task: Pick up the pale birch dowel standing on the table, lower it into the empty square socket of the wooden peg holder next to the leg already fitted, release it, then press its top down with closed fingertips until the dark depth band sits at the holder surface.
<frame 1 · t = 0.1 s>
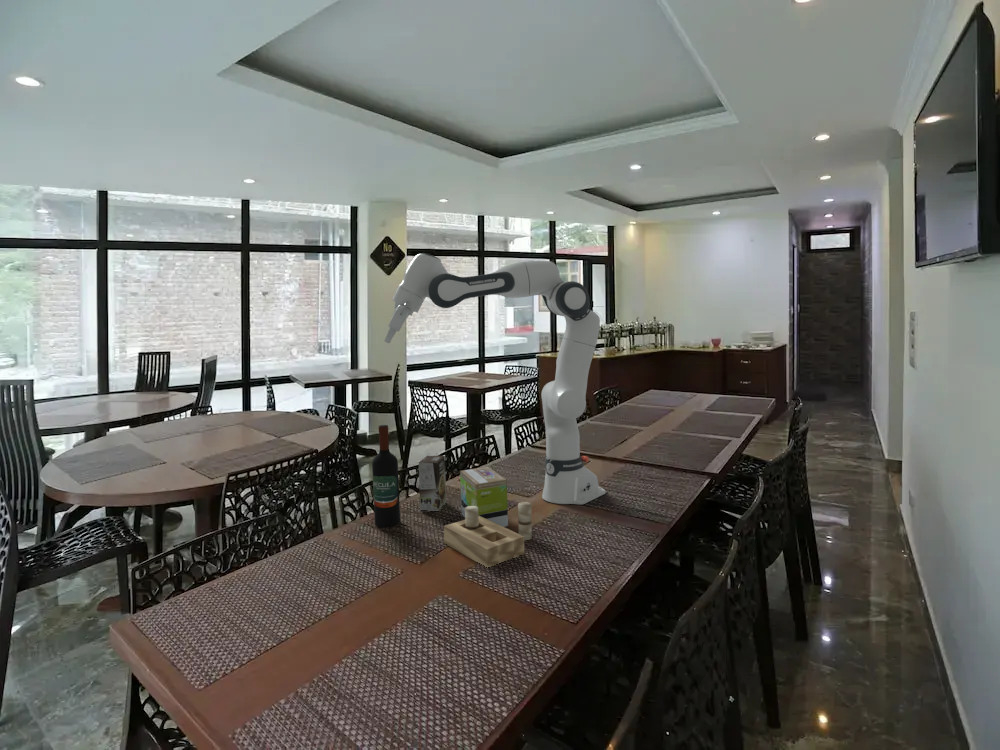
hand: (387, 341, 181), 54 cm above the table, tool tilted 30°, fingers open, 8 cm apart
wooden peg holder: (483, 548, 157), on the table
coffee box: (433, 507, 190), on the table
birch peg: (525, 538, 163), on the table
wine bottle: (387, 523, 177), on the table
tea box: (484, 521, 177), on the table
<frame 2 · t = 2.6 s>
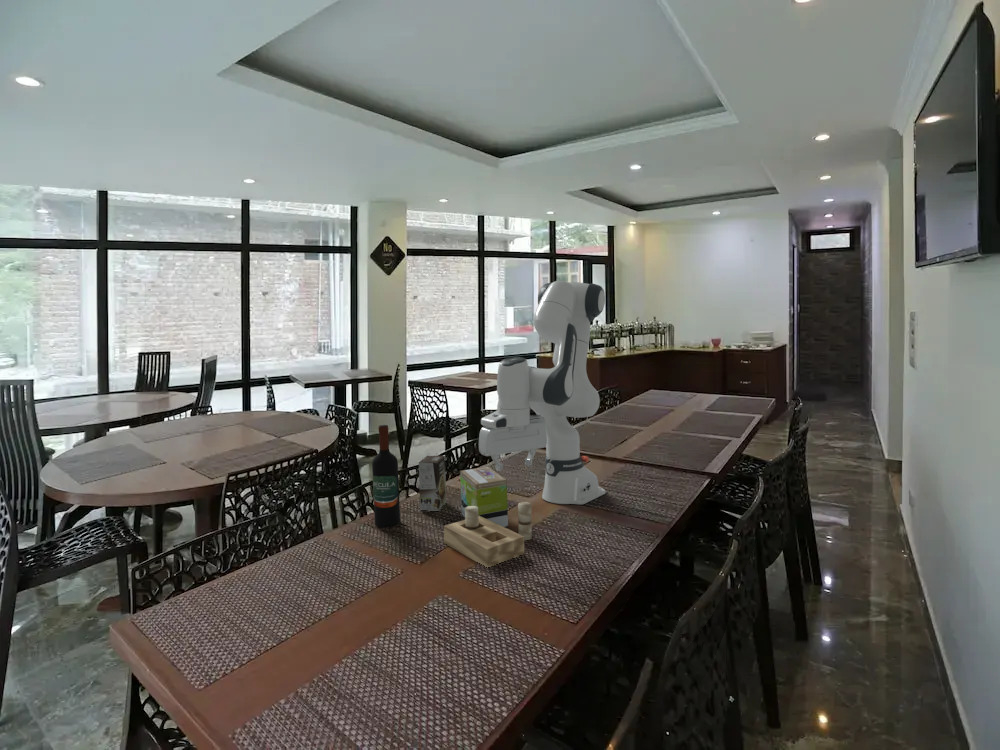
hand: (514, 467, 160), 21 cm above the table, tool pointing down, fingers open, 8 cm apart
nothing on the table moved.
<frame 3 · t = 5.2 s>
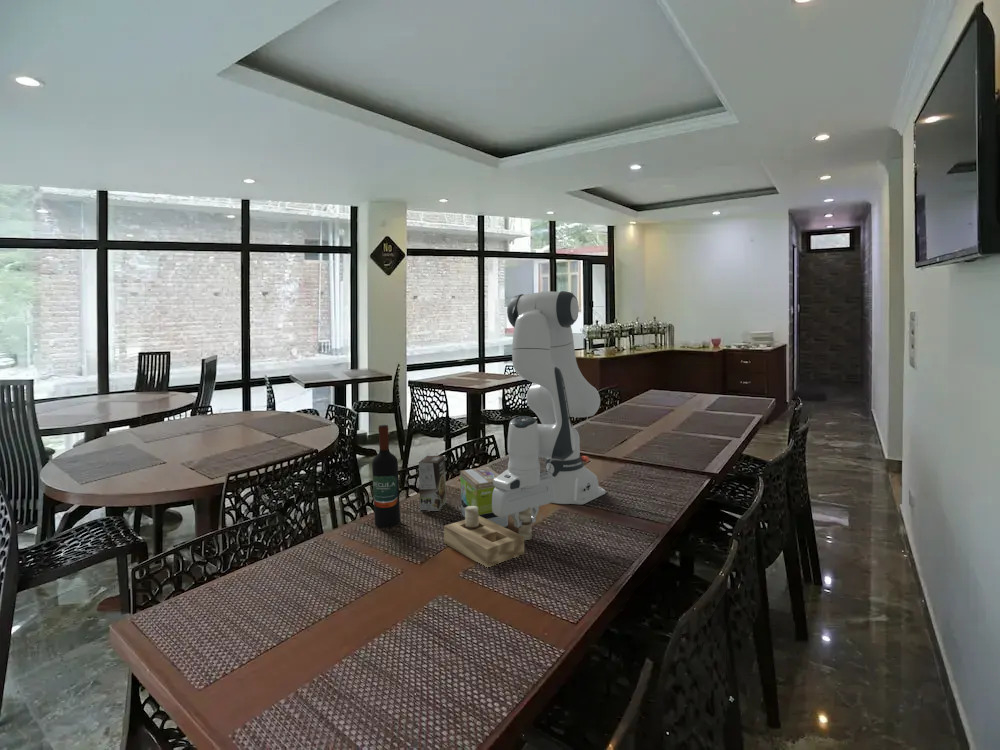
hand: (524, 524, 162), 4 cm above the table, tool pointing down, fingers closed on birch peg, 4 cm apart
birch peg: (525, 538, 163), on the table, touching gripper
everything else where it was.
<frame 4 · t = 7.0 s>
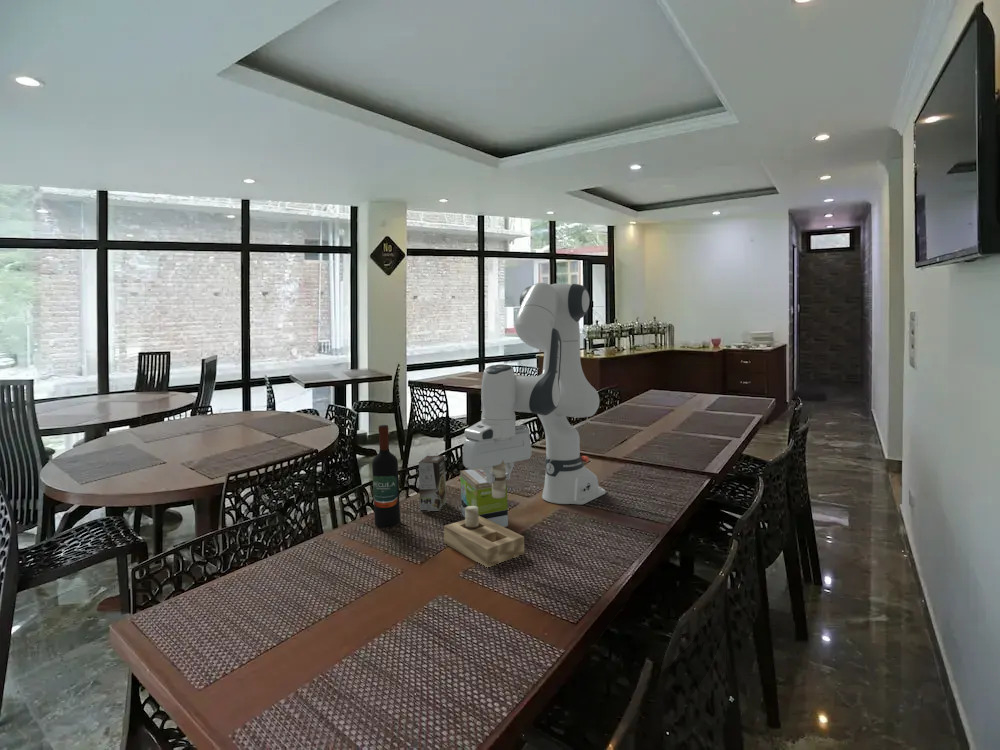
hand: (498, 480, 151), 20 cm above the table, tool pointing down, fingers closed on birch peg, 4 cm apart
birch peg: (498, 496, 152), point 15 cm above the table, touching gripper
everything else where it was.
when the fingers open (8 cm above the table, at t = 9.2 s): birch peg drops 3 cm, resting in wooden peg holder.
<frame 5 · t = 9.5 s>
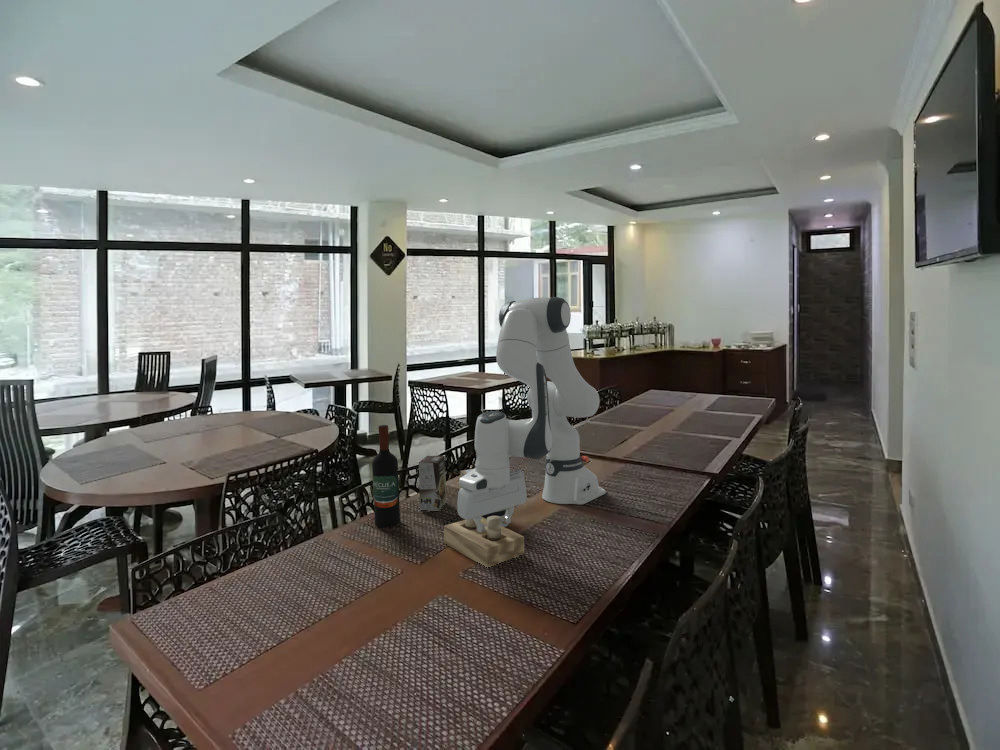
hand: (494, 527, 152), 8 cm above the table, tool pointing down, fingers open, 7 cm apart
birch peg: (494, 555, 153), resting in wooden peg holder
everything else where it was.
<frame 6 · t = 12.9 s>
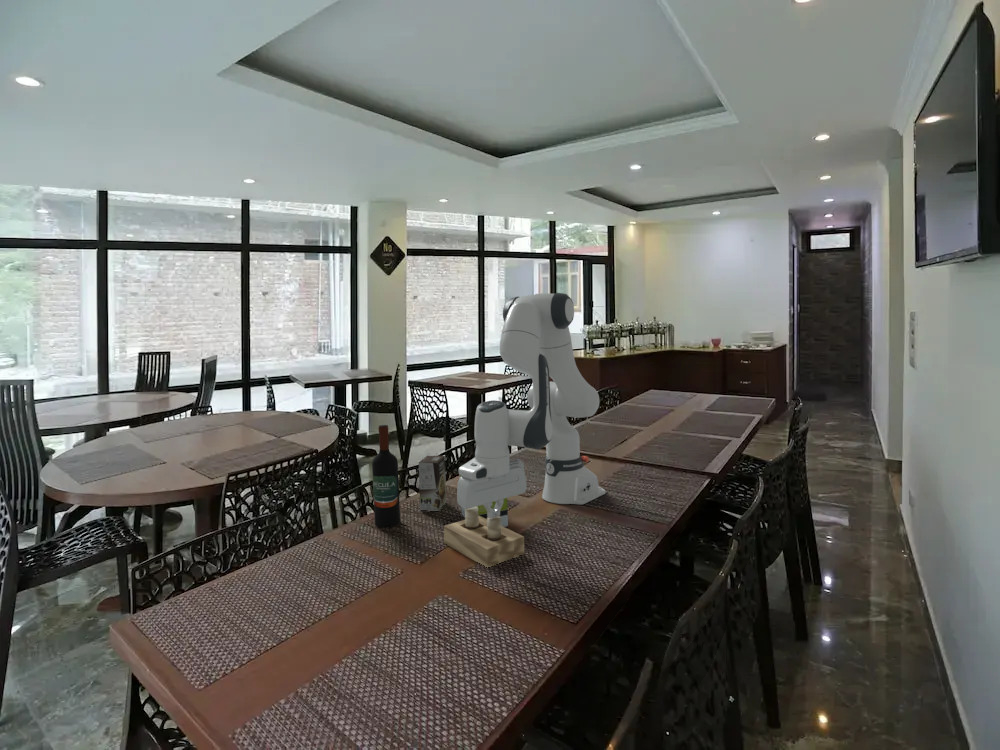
hand: (493, 516, 151), 10 cm above the table, tool pointing down, fingers closed
nothing on the table moved.
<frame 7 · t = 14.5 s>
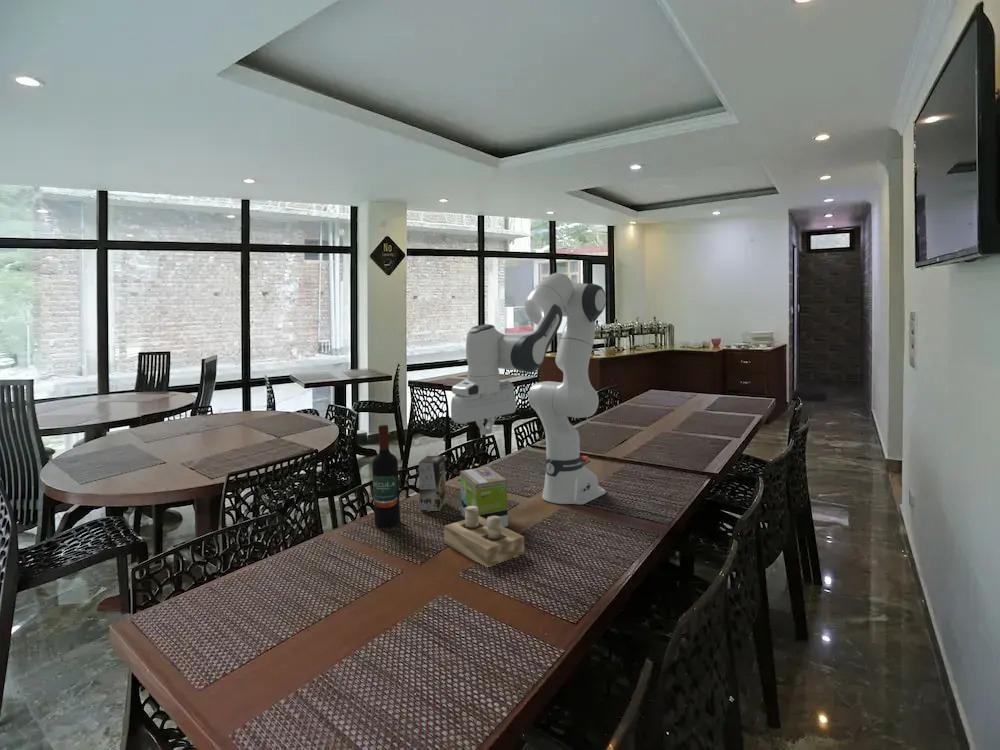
hand: (486, 433, 162), 29 cm above the table, tool pointing down, fingers closed
nothing on the table moved.
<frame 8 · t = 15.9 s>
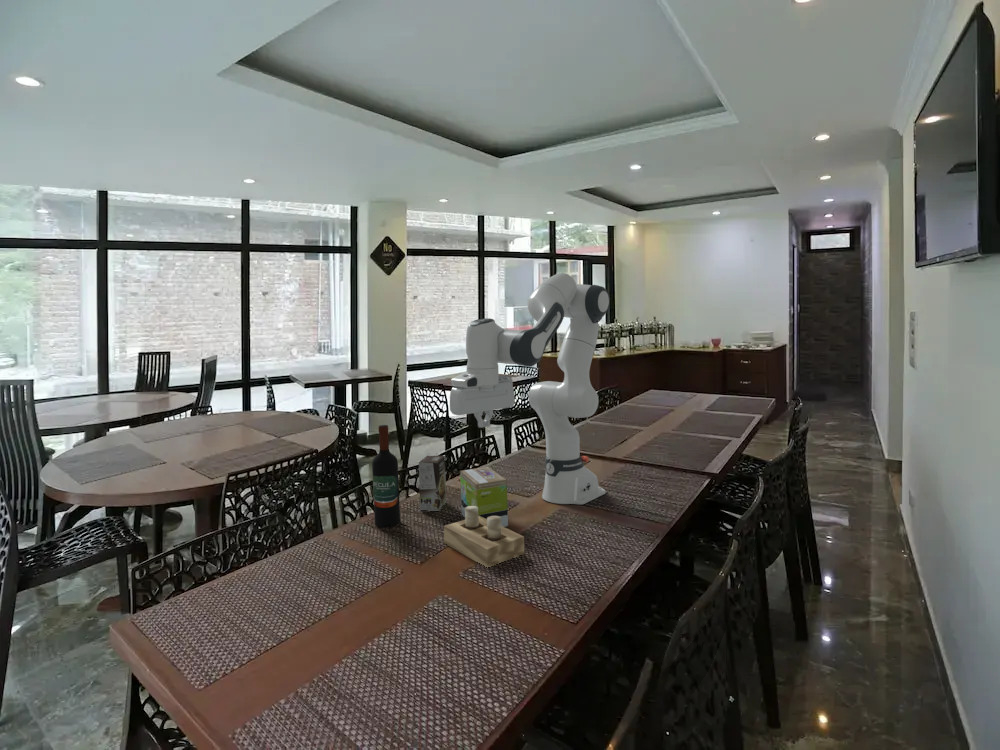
hand: (483, 426, 163), 31 cm above the table, tool pointing down, fingers closed
nothing on the table moved.
at the end: birch peg 0.1 cm from the target spot on the wooden peg holder, point 0.0 cm above the wooden peg holder's base; birch peg tilted 0°; the gripper is holding nothing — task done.
